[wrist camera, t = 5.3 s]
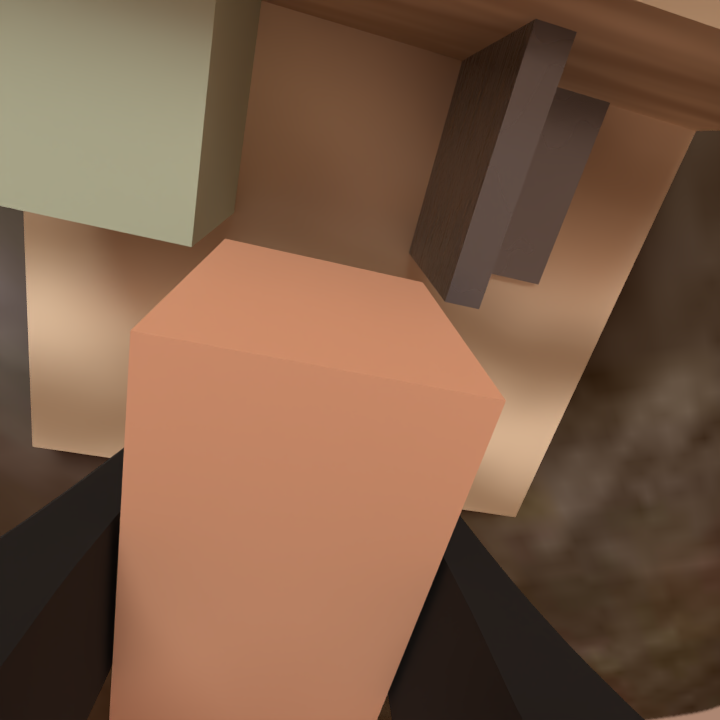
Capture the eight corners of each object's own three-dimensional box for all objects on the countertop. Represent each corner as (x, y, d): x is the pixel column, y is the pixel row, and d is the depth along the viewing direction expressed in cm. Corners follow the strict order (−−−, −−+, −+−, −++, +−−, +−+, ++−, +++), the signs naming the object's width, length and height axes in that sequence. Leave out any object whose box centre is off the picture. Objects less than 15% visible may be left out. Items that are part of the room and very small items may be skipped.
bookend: (534, 281, 16) (619, 339, 11) (408, 253, 15) (445, 301, 11) (604, 103, 14) (743, 85, 9) (462, 60, 13) (535, 18, 8)
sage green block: (233, 212, 14) (191, 247, 10) (90, 180, 14) (-27, 200, 9) (261, 0, 12) (223, -83, 8) (94, -51, 12) (-56, -172, 7)
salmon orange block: (347, 538, 13) (360, 761, 8) (190, 517, 12) (108, 746, 7) (422, 282, 10) (506, 401, 5) (225, 238, 9) (130, 330, 5)
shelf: (505, 497, 21) (604, 694, 14) (50, 427, 18) (-141, 629, 11) (688, 89, 15) (1057, 38, 7) (38, -115, 12) (-436, -538, 4)
